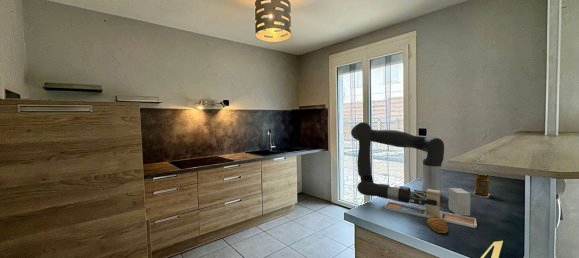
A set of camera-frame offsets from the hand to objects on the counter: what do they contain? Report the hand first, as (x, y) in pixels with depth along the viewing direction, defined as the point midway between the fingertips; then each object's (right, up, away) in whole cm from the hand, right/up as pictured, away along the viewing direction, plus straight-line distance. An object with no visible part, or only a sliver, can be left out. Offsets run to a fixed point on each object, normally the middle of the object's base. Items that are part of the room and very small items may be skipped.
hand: (437, 200), depth 104 cm
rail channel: (-3, -7, +3) cm, 8 cm away
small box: (+13, -7, +5) cm, 15 cm away
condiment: (+43, -6, +28) cm, 52 cm away
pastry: (-7, -8, -10) cm, 15 cm away
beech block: (-1, -7, +1) cm, 7 cm away
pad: (-1, -7, +1) cm, 8 cm away
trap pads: (-3, -7, +3) cm, 8 cm away
